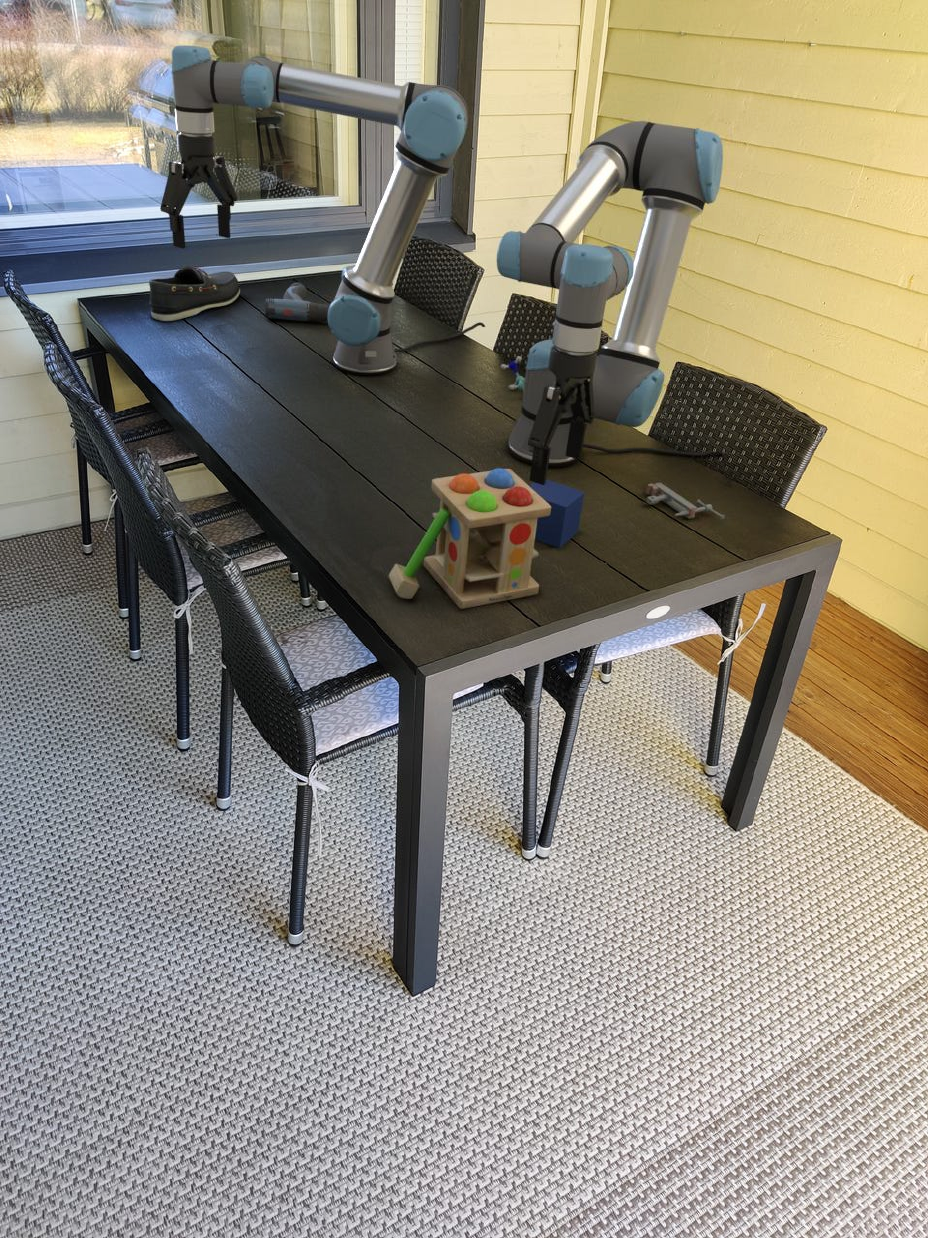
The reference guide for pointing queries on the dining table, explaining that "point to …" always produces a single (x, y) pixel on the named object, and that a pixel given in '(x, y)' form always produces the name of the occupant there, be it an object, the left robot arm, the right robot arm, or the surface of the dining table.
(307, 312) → the power drill
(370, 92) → the left robot arm
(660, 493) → the clamp
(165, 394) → the dining table surface
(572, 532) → the brick
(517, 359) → the molecular model
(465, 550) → the pounding bench toy
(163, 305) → the boat shoe
